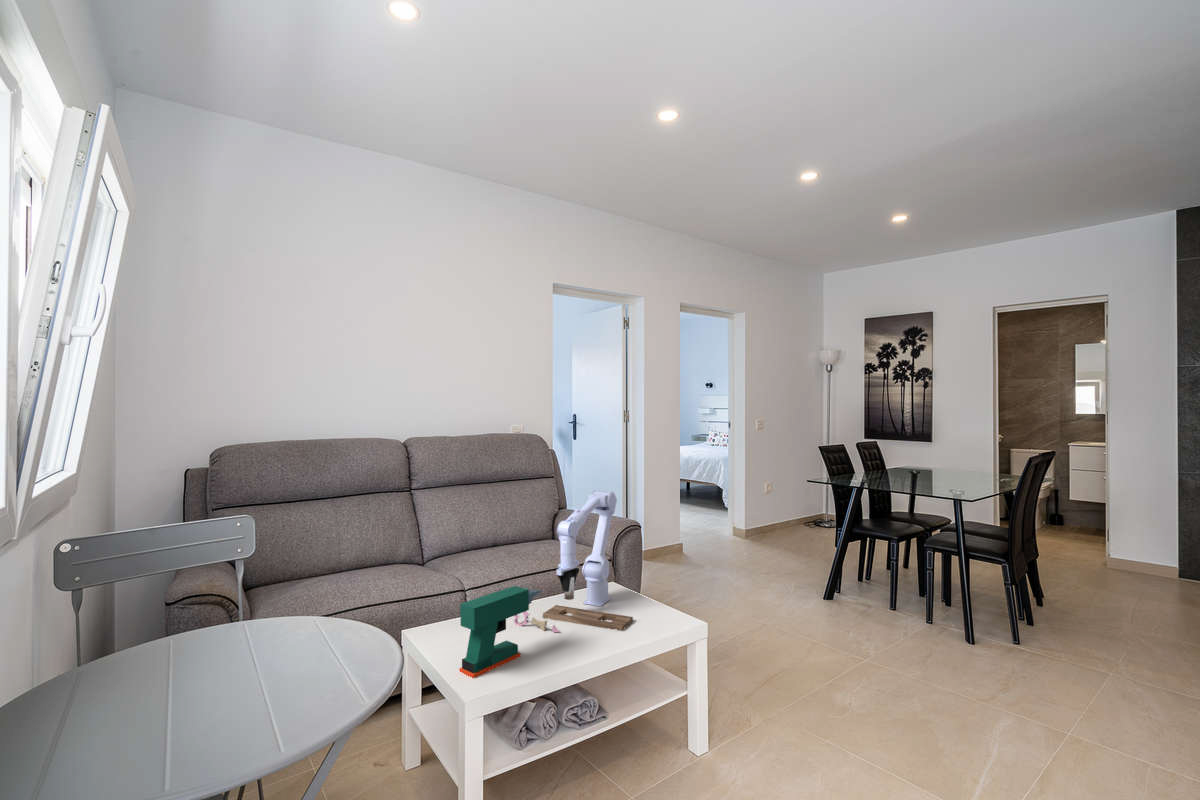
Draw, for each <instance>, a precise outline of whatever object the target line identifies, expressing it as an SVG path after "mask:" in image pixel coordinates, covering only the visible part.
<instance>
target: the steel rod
mask: <svg viewBox="0 0 1200 800" xmlns="http://www.w3.org/2000/svg"><path fill="white" fill-rule="evenodd" d="M563 592H564V591H563ZM563 597H564V600H567V601H572V600H575V585H574V576H571V579H570V586H569V592H564V595H563Z"/></svg>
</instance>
